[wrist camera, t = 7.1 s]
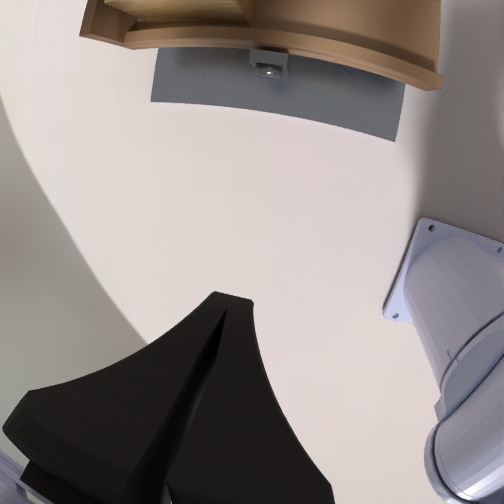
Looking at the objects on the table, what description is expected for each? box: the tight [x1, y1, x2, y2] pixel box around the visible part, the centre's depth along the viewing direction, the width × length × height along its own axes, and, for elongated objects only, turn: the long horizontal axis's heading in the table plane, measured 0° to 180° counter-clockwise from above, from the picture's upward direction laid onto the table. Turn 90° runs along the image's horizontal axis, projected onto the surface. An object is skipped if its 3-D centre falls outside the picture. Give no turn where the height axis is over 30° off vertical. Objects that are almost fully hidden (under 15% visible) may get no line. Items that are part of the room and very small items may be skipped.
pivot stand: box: [151, 47, 406, 142], centre depth 11 cm, size 15×12×5 cm
